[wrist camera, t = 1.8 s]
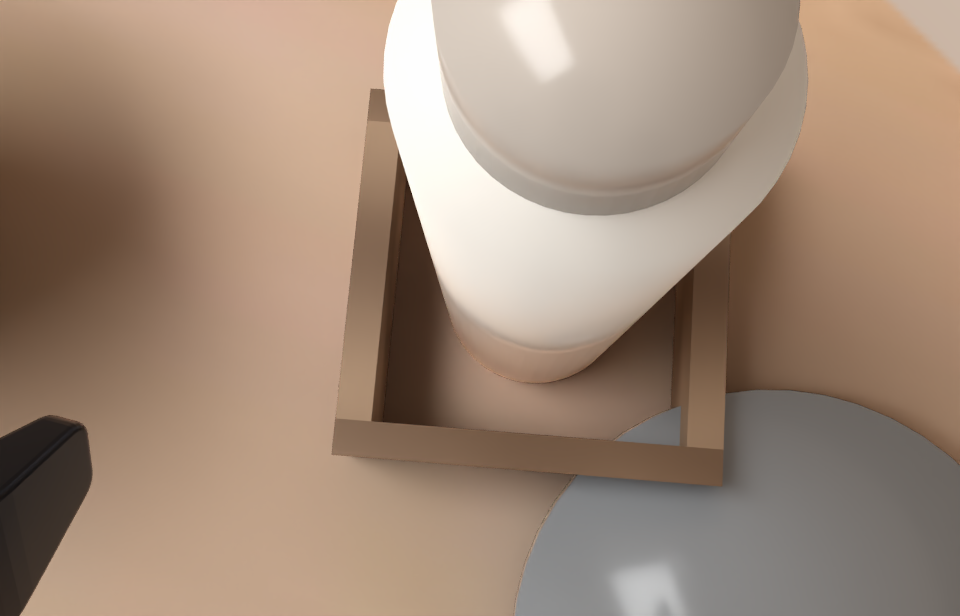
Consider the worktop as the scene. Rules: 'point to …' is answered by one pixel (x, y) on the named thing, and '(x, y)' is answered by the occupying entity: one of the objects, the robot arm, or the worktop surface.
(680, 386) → the holder
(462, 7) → the salt mill
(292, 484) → the worktop surface
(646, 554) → the plate
